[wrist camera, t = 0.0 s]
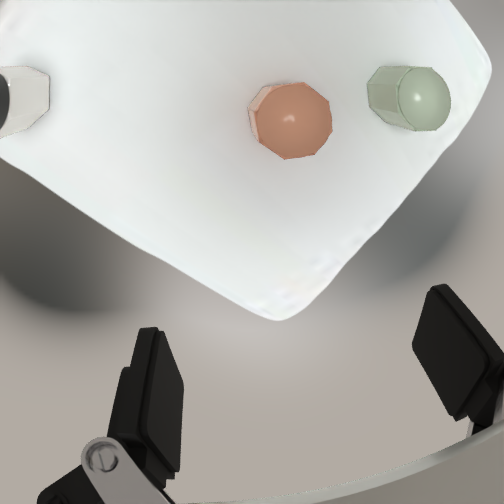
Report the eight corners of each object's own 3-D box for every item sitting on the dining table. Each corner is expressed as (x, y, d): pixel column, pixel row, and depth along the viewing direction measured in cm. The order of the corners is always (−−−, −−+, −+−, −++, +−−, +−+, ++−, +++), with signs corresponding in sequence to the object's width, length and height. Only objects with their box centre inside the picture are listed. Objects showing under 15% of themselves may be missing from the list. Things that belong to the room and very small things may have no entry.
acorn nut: (388, 56, 32) (422, 53, 25) (424, 94, 35) (460, 100, 28) (357, 95, 35) (386, 99, 28) (396, 133, 37) (429, 145, 30)
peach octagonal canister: (273, 72, 33) (286, 68, 26) (323, 109, 35) (347, 115, 29) (236, 122, 36) (240, 130, 29) (287, 156, 38) (302, 173, 31)
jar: (6, 72, 27) (-50, 78, 17) (51, 60, 28) (-3, 58, 18) (7, 132, 32) (-47, 153, 21) (51, 125, 32) (-2, 143, 22)
